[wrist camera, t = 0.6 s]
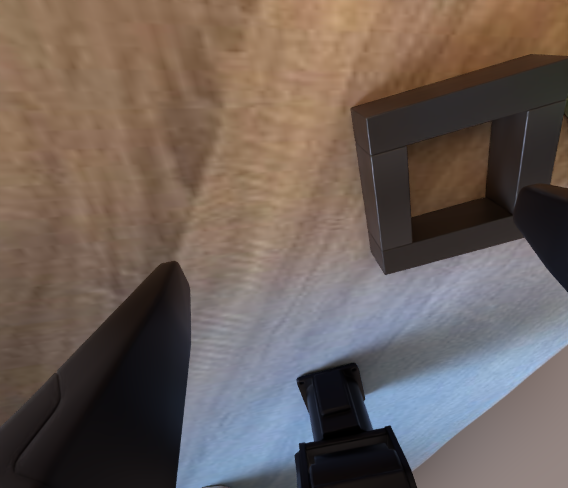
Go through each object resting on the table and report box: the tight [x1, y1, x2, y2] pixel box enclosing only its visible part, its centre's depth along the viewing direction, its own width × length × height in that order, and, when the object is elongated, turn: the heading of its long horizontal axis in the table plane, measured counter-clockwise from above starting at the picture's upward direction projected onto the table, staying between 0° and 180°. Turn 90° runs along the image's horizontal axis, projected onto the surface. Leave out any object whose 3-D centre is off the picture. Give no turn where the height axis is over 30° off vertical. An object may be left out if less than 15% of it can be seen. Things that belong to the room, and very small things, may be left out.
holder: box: [351, 54, 568, 275], centre depth 22 cm, size 11×11×3 cm
